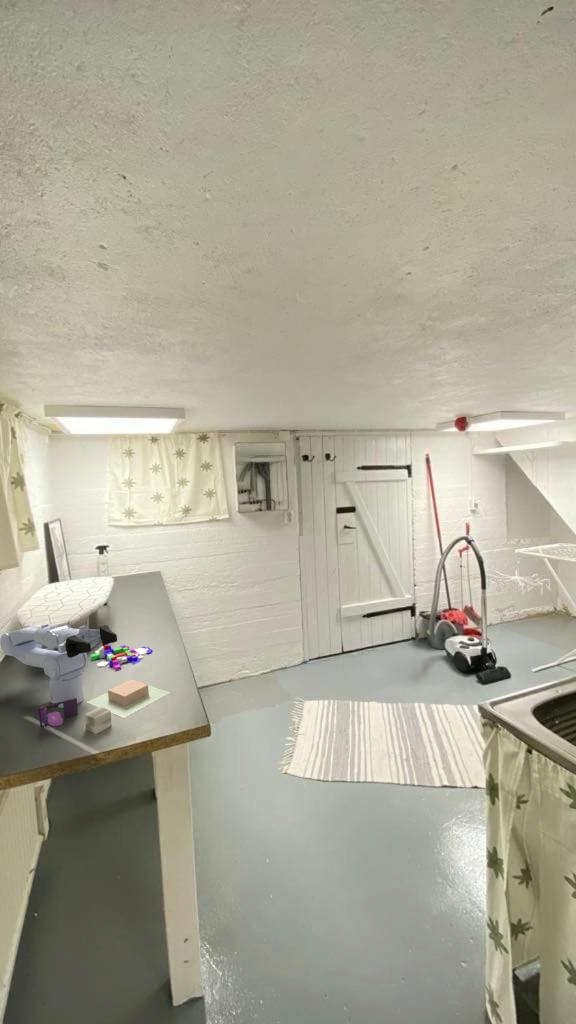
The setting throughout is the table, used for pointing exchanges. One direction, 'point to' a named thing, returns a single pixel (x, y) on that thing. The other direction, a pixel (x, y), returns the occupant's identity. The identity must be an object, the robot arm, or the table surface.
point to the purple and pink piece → (55, 717)
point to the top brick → (98, 720)
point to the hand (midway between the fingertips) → (103, 642)
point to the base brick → (128, 692)
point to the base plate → (130, 709)
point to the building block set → (119, 655)
